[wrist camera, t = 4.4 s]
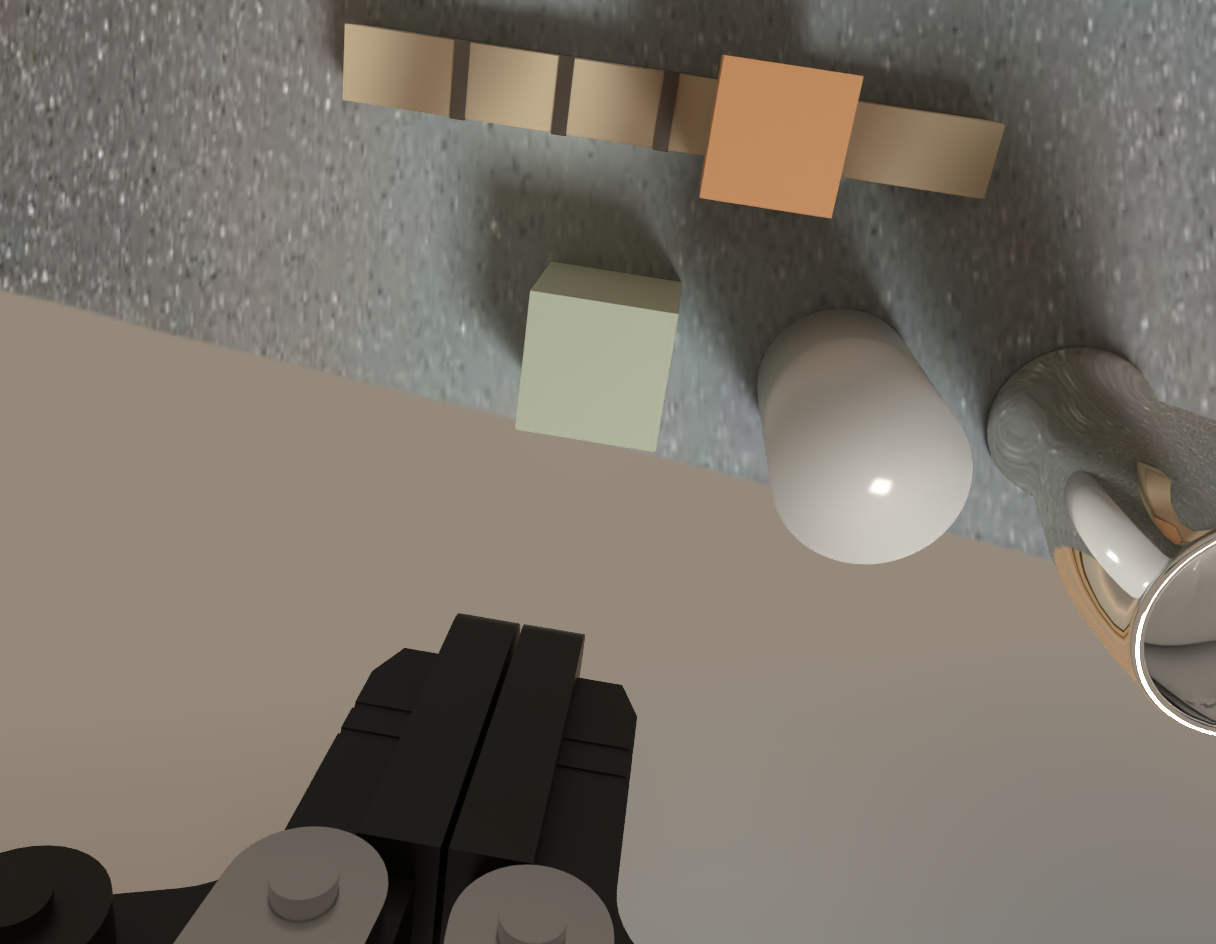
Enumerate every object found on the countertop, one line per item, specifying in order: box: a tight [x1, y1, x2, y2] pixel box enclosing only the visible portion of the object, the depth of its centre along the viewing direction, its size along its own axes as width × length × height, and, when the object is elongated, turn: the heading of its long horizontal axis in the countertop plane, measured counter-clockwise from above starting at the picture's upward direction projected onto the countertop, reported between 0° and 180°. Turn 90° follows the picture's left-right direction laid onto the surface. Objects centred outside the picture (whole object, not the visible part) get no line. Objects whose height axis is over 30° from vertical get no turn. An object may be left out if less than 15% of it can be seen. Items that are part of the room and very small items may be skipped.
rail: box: [343, 23, 1006, 199], centre depth 34 cm, size 22×2×2 cm, turn 82°
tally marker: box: [700, 54, 864, 219], centre depth 31 cm, size 4×4×4 cm
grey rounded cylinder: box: [757, 308, 973, 564], centre depth 34 cm, size 6×6×9 cm
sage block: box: [515, 261, 682, 452], centre depth 36 cm, size 5×5×5 cm
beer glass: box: [987, 347, 1216, 737], centre depth 31 cm, size 7×7×15 cm
